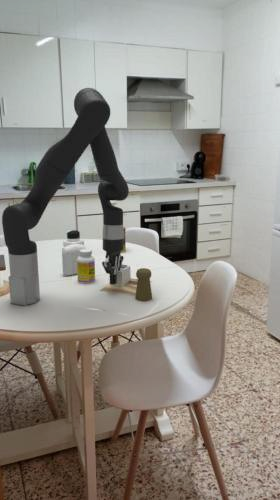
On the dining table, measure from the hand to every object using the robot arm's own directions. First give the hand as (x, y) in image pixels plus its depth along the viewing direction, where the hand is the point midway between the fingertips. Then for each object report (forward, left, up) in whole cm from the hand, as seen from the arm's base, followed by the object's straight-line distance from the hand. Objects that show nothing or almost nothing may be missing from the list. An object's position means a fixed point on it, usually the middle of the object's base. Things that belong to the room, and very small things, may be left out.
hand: (113, 283), depth 149 cm
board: (+5, -3, -3) cm, 7 cm away
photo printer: (+12, +24, -3) cm, 27 cm away
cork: (-4, -13, -3) cm, 14 cm away
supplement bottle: (+4, +14, -3) cm, 15 cm away
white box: (+7, 0, -2) cm, 7 cm away
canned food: (+51, +23, -3) cm, 56 cm away
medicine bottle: (+36, +39, -3) cm, 53 cm away
